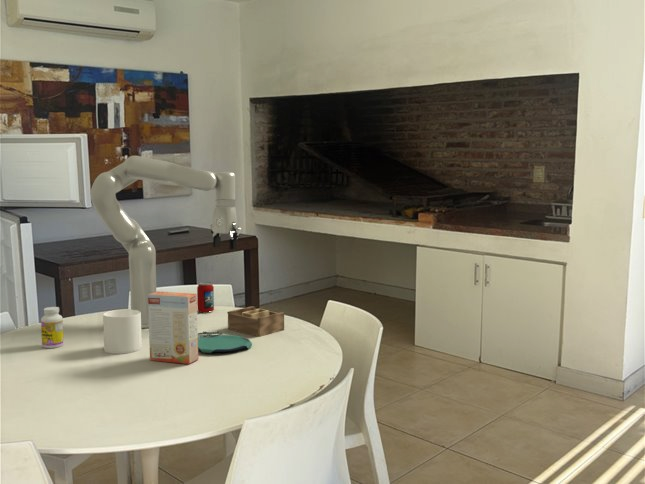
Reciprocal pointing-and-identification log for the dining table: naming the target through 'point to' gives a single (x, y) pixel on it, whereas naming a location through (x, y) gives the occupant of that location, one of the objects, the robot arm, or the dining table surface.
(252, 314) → the oak crate
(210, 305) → the beverage can
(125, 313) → the cup
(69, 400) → the dining table surface
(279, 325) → the walnut crate
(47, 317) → the supplement bottle
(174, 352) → the cracker box
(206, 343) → the cutlery set
